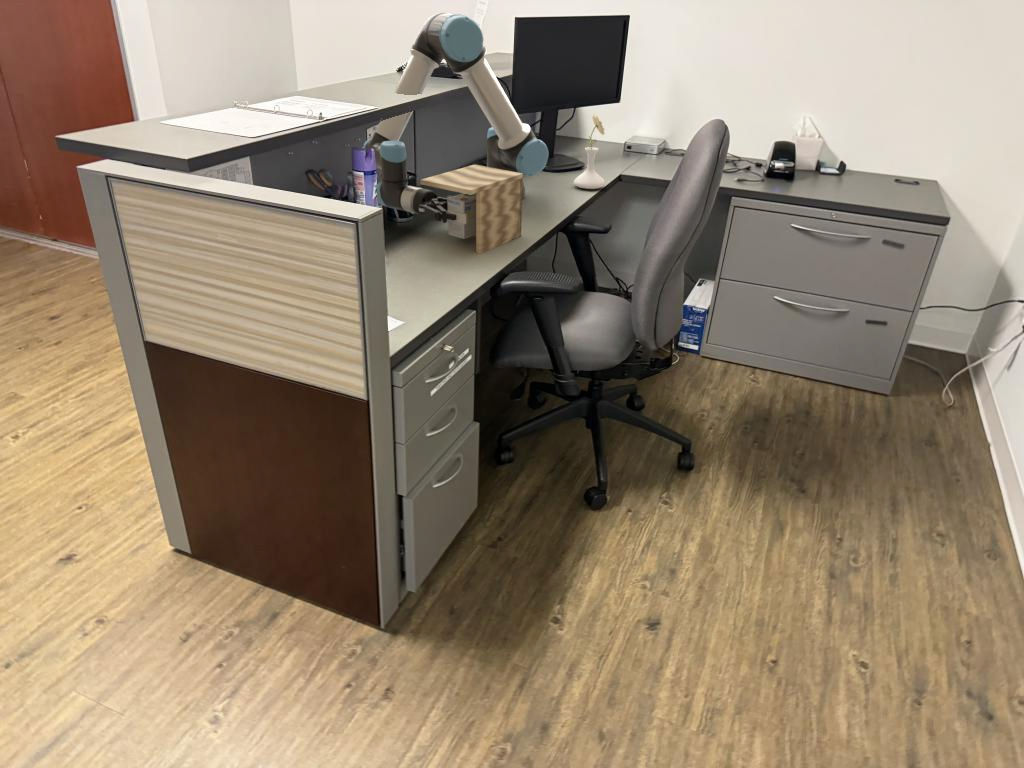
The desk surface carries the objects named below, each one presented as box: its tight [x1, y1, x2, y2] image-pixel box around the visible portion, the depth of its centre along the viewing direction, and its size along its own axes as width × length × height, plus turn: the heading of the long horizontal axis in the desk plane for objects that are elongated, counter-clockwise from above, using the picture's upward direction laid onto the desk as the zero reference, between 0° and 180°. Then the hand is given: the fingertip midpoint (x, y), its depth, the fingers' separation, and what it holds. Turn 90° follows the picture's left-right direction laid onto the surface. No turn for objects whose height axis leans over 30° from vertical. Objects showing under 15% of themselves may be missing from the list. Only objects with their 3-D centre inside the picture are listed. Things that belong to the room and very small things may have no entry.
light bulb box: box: [446, 193, 476, 240], centre depth 214 cm, size 11×7×11 cm, turn 141°
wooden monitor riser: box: [419, 164, 524, 254], centre depth 212 cm, size 24×17×18 cm
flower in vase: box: [573, 113, 606, 190], centre depth 268 cm, size 13×11×25 cm
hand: (479, 214), depth 212 cm, fingers closed on light bulb box, 11 cm apart
